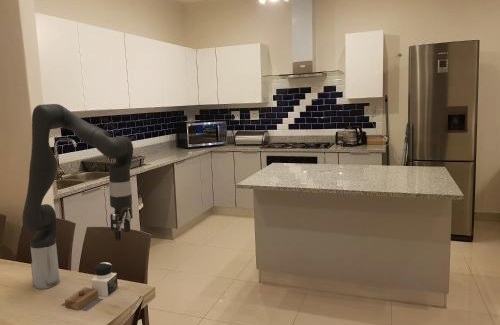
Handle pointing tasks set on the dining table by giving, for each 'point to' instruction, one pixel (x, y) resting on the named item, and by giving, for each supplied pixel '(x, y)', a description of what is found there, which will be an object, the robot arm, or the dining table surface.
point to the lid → (81, 298)
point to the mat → (89, 304)
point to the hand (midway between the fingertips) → (122, 236)
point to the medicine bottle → (104, 279)
